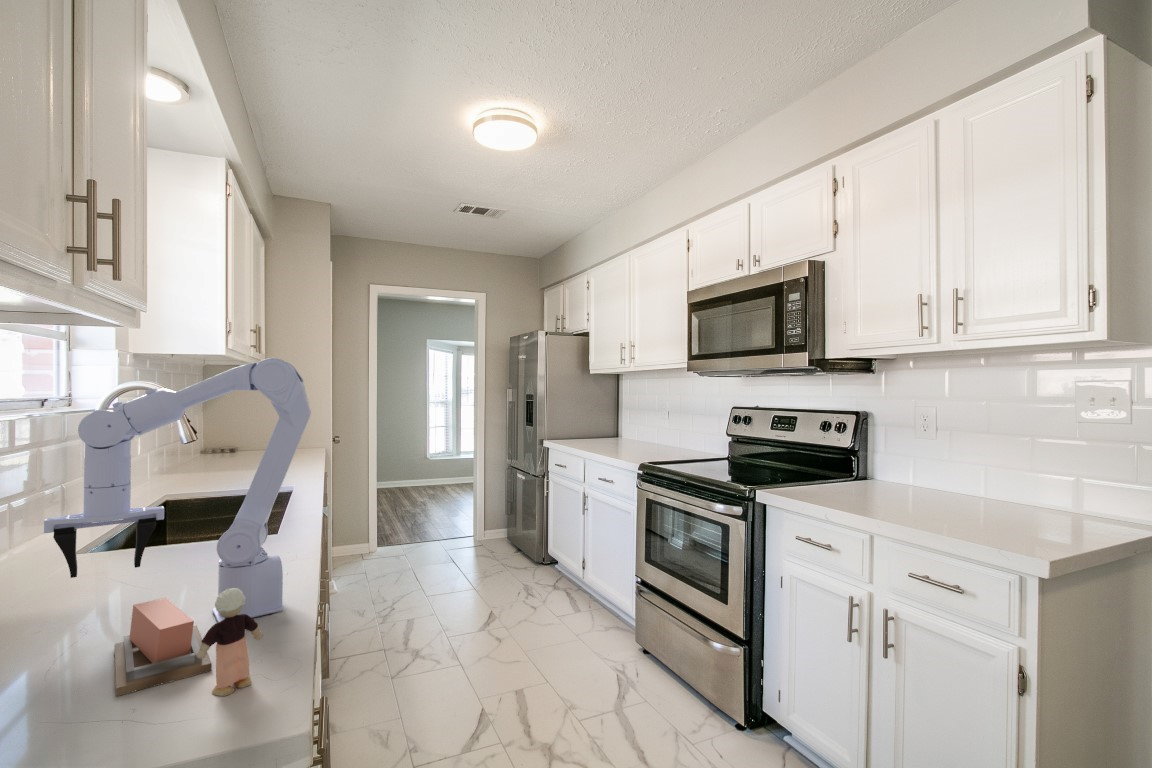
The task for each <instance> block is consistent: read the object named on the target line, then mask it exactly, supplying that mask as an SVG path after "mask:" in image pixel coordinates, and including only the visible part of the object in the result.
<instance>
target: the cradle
mask: <svg viewBox="0 0 1152 768" xmlns="http://www.w3.org/2000/svg"><path fill="white" fill-rule="evenodd" d="M129 638H130V634H127V635H124V636H123V641H122V642H121V641H120V642H117V643H114V669H115V670H114V671H115V672H114V675H115V677H114V678H115V697H119V696H123V695H127V694H130V693H129V692H131V693H133V692H132V691H134V692H136V691H135V690H138V691H141V690H140V689H142V690H144V689H145V690H146V689H148V687H149V688H152V687H151V686H153V687H155V686H154V685H156V686H159V685H158V684H160V685H162V684H161V683H164V684H167V683H170V681H171V682H174V681H177V680H182V679H185V678H189V677H192V676H197V675H200V674H205V673H207V672H208V673H209V672H211V671H212V668H213V667H212V666H213V665H212V664H213V663H212V660H211V658H210V656H209V653H208V652H207V654H206V656H205V657H204V658H202V659H199V658H197V656H196V655H197V652H198V651H199V650H200V646H201V643H202V642H201V641H202V639H203V637H202V635H201V633H200V629H199V627H198V625H193V632H192V641H191V650H190V654H188V655H184V656H180V657H176V658H172V659H168V660H164V661H160V662H156V663H152V662H151V661H150V660H149V659H148V658H147V657H146V656H145V655H144V654H143V653H142V652H141V651H140V650H139V649H138V648H137V647H136V646H135V644H134V643H133V642H132V641H131V640H130V639H129ZM166 682H167V683H166ZM126 693H127V694H126Z"/></svg>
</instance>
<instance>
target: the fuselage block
mask: <svg viewBox="0 0 1152 768" xmlns="http://www.w3.org/2000/svg"><path fill="white" fill-rule="evenodd" d="M131 613H132V614H131V622H130V631H129V635H130V638H129V639H130V640H131V641H132V642H133V643H134V644H135V646H136V647H137V648H138V649H139V650H140V651H141V652H142V653H143V654H144V655H145V656H146V657H147V658H148V659H149V660H150V661H151V662H152V663H156V662H160V661H164V660H168V659H172V658H176V657H180V656H184V655H188V654H190V650H191V641H192V632H193V626H194V623H195V621H194V619H192V618H191V617H190V616H188V615H187V614H186V613H185V612H184V611H183V610H182V609H180V608H179V607H178V606H176V605H175V604H174V603H173V602H172V601H170V600H169V599H168V598H167V597H163V598H159V599H155V600H148V601H145V602H140V603H139V602H138V603H135V604H133V606H132V612H131Z"/></svg>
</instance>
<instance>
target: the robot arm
mask: <svg viewBox="0 0 1152 768" xmlns="http://www.w3.org/2000/svg"><path fill="white" fill-rule="evenodd" d="M305 387H306V386H305V382H304V379H303V377H302V376H301V375H300V373H299V372H298V370H297V369H296V368H295V366H294V365H292V364H291V363H289V362H287V361H285V360H283V359H282V358H278V357H268V358H265V359H264V358H263V359H262V360H260V361H259V362H255V361H254V362H251V363H246V364H243V365H239V366H237V367H233V368H230V369H228V370H226V371H223V372H221V373H218V374H216V375H214V376H211V377H209V378H206V379H204V380H201V381H199V382H197V383H195V384H192V385H189V386H187V387H185V388H182V389H179V390H177V391H175V390H171V389H169V388H166V387H165V388H160V389H157V388H156V387H152V388H149V389H146V390H145V391H144V393H145V394H144V395H142V396H139V397H137V398H134V399H131V400H128V401H125V402H122V401H117V402H114V403H112V404H111V405H112V407H113V408H112V410H109V409H98V410H97V409H95V410H94V411H93V412H91V413H89V414H87V415H86V416H84V417H83V418H82V420H81V421H80V422H79V424H78V429H77V433H78V436H79V438H80V440H81V441H82V442H83V443H84V457H83V458H84V460H83V461H84V462H83V466H84V467H83V513H77V514H75V513H74V514H70V515H69V514H68V515H64V516H56V517H48V518H45V519H44V520H43V534H51V533H53V539H54V541H55V542H56V545H57V546H58V548H59V549H60V551H61V552H62V553H63V556H64V558H65V560H66V563H67V565H68V570H69V575H70V579H72V578H77V577H78V561H77V558H78V557H77V529H84V528H85V529H86V528H93V527H103V526H104V527H105V526H109V525H110V526H113V525H120V524H129V523H135V549H134V559H133V561H134V562H133V565H134V569H136V568H140V567H141V563H142V557H143V554H144V551H145V549H146V547H147V544H148V541H149V539H150V537H151V536H152V534H153V532H154V530H155V529H156V526H157V521H161V520H164V519H165V507H164V506H163V505H160V506H149V507H147V506H145V507H133V508H131V496H132V495H131V494H132V493H131V487H132V486H131V485H132V484H131V483H132V482H131V480H132V479H131V478H132V477H131V475H132V474H131V473H132V472H131V471H132V469H131V468H132V455H131V450H132V449H131V443H132V442H131V441H132V440H133V439H134V437H135V436H139V437H140V436H142V435H145V434H147V433H150V432H152V431H155V430H157V429H160V428H161V427H165V426H168V425H170V424H172V423H175V422H177V421H180V420H181V419H182V418H183V416H184V414H185V412H186V410H187V409H189V408H190V407H193V406H197V405H199V404H202V403H205V402H207V401H210V400H213V399H217V398H218V397H221V396H224V395H227V394H230V393H232V392H235V391H253V392H255V391H259V392H260V393H261V394H262V395H263V396H264V397H266V398H267V399H268V400H269V401H270V403H271V405H272V406H273V408H274V410H275V411H276V413H277V415H278V420H277V422H276V424H275V426H274V429H273V431H272V434H271V437H270V438H269V441H268V443H267V446H266V448H265V450H264V452H263V455H262V458H261V460H260V462H259V465H258V467H257V469H256V471H255V474H254V476H253V478H252V481H251V483H250V485H249V488H248V490H247V492H246V494H245V497H244V500H243V502H242V504H241V506H240V508H239V510H238V512H237V514H236V516H235V518H234V520H233V522H232V524H231V525H230V526H229V528H228V529H227V530H226V531H225V532H223V534H222V535H221V536H220V538H219V539H218V540H217V542H216V553H217V556H218V557H219V559H218V578H217V579H218V581H217V582H218V583H217V585H218V588H217V589H218V591H217V592H218V593H217V595H218V596H219V594H220V593H222V592H223V591H225V590H226V589H231V588H238V589H240V590H241V591H242V592H243V594H244V596H245V598H246V600H245V604H244V605H243V606H242V608H241V611H240V612H239V613H238V614H237V615H240V614H246V615H248V616H250V617H251V618H252V619H253V618H257V617H261V616H266V615H269V614H273V613H279V612H282V611H283V610H284V606H283V585H284V582H283V578H284V576H283V575H284V573H283V563H282V559H281V557H280V555H276V554H275V555H268V553H267V551H266V550H265V549H264V548H263V547H262V546H263V545H264V543H265V542H266V541H267V538H268V534H269V530H268V521H269V518H270V516H271V514H272V510H273V507H274V505H275V501H276V500H277V497H278V494H279V492H280V490H281V488H282V485H283V482H284V480H285V479H286V476H287V473H288V471H289V468H290V466H291V464H292V461H293V459H294V457H295V454H296V451H297V449H298V447H299V444H300V442H301V440H302V438H303V435H304V432H305V430H306V428H307V425H308V423H309V421H310V418H311V416H312V415H311V413H312V411H311V410H312V409H311V407H310V402H309V399H308V395H307V392H306V388H305ZM218 596H217V597H218ZM211 610H212V614H213V615H214V618H215V619H216V623H218V622H220V621H222V620H224V619H225V618H224V617H222V616H221V615H220V613H219V612H218V611H217V610H216V607H215V606H214V607H213V608H212V609H211Z"/></svg>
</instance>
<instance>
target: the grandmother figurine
mask: <svg viewBox="0 0 1152 768" xmlns="http://www.w3.org/2000/svg"><path fill="white" fill-rule="evenodd" d="M245 600H246V598H245V596H244V594H243V592H242V591H241V590H240V589H238V588H231V589H226V590H225V591H223V592H222V593H220V594H219V596H217V598H216V600H215V602H214V608H215V607H216V610H217V611H218V612H219V613H220V615H221V616H222V617H224V618H225V619H224V620H222V621H220V622H216V623H215V624H213V625H212V626H211V627H210V628H209V629H208V630H207V632H206V633H205V634H204V637H202V641H201V642H202V643H201V646H200V650H199V651H198V652H197V655H196V656H197V658H199V659H202V658H204V657H205V656H206V654H207V653H208V651H209V649H210V648H211V647H212V646H213V645H215V644H216V646H215V659H216V660H215V680H216V681H215V682H216V686H215V687H214V688H213V689H212V692H211V694H212V695H215V696H218V697H226V696H229V695H231V694H233V693H235V689H234V687H233V686H232V685H234V686H235V688H237V689H242V688H246V687H249V686H250V685H251V684H252V680H251V679H252V678H251V676H250V674H251V673H250V657H249V652H248V644H247V638H246V631H249V632H250V633H251V635H252V636H253V639H255V641H256V640H257V641H259V640H262V638H263V636H264V634H263V632H262V631H261V628H260V627H259V625H258V624H259V623H258V622H256V620H254V619H253V618H251V617H250V616H248V615H246V614H240V615H237V614H238V613H239V612H240V611H241V608H242V606H243V605H244V604H245Z"/></svg>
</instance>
